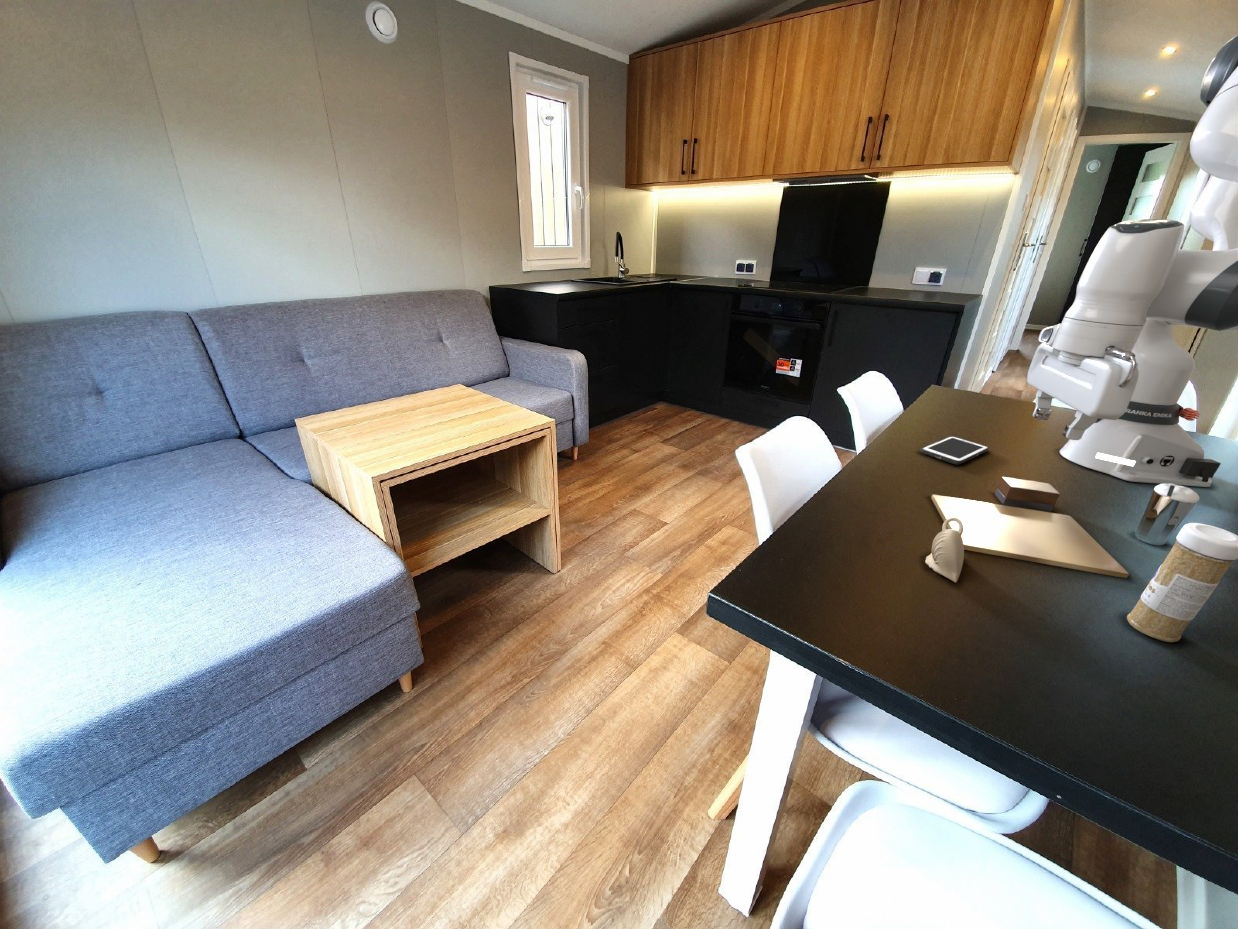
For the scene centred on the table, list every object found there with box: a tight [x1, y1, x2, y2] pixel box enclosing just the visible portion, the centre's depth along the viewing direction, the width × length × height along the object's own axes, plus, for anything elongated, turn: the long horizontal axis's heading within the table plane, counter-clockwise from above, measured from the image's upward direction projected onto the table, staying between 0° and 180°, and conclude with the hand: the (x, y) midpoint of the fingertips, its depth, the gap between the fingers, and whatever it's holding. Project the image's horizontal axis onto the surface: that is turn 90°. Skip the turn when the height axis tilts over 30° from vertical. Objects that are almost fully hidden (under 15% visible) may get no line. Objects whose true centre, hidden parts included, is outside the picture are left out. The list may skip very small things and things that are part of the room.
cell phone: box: [920, 435, 989, 466], centre depth 104 cm, size 8×15×1 cm, turn 125°
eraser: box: [994, 476, 1061, 513], centre depth 84 cm, size 7×4×4 cm, turn 73°
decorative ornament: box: [924, 517, 965, 584], centre depth 66 cm, size 4×8×5 cm, turn 139°
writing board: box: [930, 494, 1130, 579], centre depth 75 cm, size 20×16×1 cm
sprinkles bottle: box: [1126, 522, 1238, 643], centre depth 54 cm, size 5×5×13 cm
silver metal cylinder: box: [1134, 483, 1200, 547], centre depth 73 cm, size 4×5×10 cm
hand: (1054, 428), depth 78 cm, fingers open, 8 cm apart
